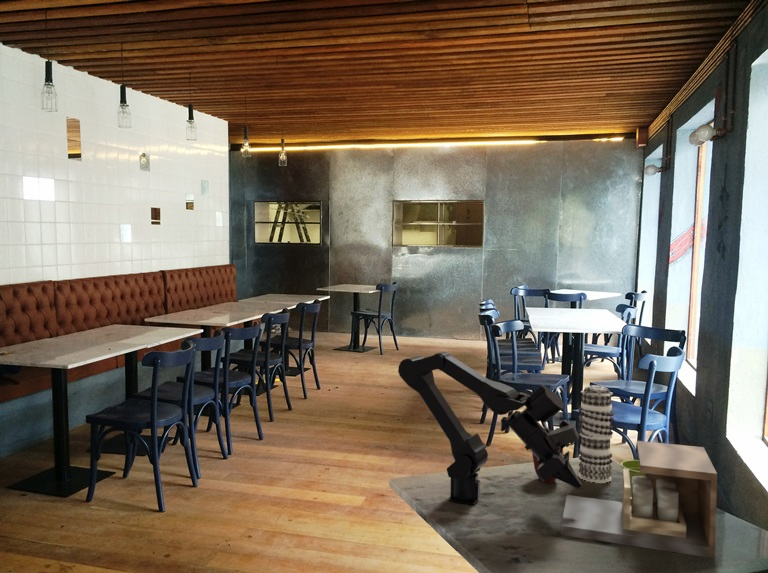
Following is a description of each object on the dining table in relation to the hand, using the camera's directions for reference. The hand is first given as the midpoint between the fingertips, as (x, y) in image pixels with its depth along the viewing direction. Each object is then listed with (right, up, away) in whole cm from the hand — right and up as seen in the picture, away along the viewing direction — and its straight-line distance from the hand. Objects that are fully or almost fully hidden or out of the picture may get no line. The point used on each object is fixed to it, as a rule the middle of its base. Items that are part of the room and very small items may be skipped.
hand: (580, 486), depth 141 cm
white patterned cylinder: (+13, -7, +28) cm, 32 cm away
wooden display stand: (+11, -8, -4) cm, 14 cm away
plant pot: (+19, -8, +12) cm, 24 cm away
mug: (-1, -7, +25) cm, 26 cm away
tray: (+14, -6, -5) cm, 16 cm away
